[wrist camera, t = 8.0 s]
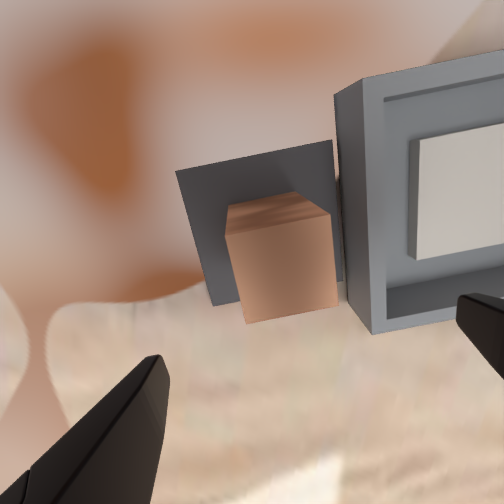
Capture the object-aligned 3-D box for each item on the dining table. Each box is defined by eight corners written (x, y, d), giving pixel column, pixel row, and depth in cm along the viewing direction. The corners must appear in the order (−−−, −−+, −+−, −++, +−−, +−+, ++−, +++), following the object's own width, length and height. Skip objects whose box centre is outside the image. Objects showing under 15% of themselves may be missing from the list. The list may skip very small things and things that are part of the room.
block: (295, 191, 18) (330, 214, 11) (303, 253, 19) (338, 305, 13) (228, 205, 18) (224, 236, 11) (242, 266, 20) (245, 324, 13)
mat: (329, 139, 17) (332, 139, 17) (340, 277, 21) (343, 280, 20) (177, 170, 18) (175, 171, 17) (213, 302, 21) (212, 306, 21)
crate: (609, 38, 16) (721, 5, 13) (557, 262, 22) (625, 285, 18) (333, 94, 17) (362, 78, 13) (348, 303, 22) (372, 335, 18)
